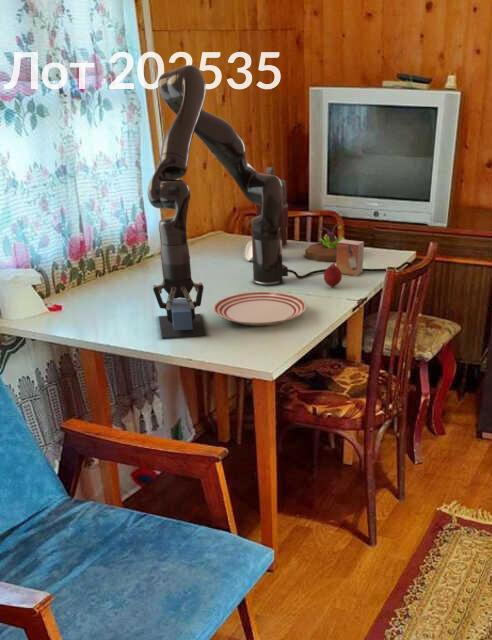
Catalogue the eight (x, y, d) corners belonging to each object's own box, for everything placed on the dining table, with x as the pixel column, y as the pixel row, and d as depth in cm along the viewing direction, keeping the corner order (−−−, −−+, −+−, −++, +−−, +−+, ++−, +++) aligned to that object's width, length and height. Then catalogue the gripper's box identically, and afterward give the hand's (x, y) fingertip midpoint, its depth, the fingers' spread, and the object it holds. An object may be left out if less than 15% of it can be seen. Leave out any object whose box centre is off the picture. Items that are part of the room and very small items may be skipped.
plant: (349, 264, 268) (350, 232, 261) (299, 259, 273) (299, 227, 266) (365, 251, 283) (366, 221, 277) (317, 246, 288) (318, 216, 282)
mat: (200, 315, 218) (200, 313, 218) (206, 336, 203) (206, 334, 203) (158, 317, 215) (158, 316, 215) (162, 338, 201) (161, 337, 201)
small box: (335, 273, 258) (336, 242, 252) (341, 269, 262) (342, 238, 256) (357, 276, 255) (358, 244, 249) (362, 272, 260) (364, 241, 254)
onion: (339, 290, 241) (339, 265, 236) (322, 289, 242) (322, 264, 237) (342, 285, 245) (343, 261, 241) (325, 284, 246) (326, 259, 242)
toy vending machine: (283, 249, 283) (282, 170, 268) (257, 246, 286) (254, 168, 271) (292, 244, 291) (291, 166, 275) (266, 241, 294) (264, 164, 278)
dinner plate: (270, 338, 202) (270, 326, 201) (194, 319, 214) (193, 308, 212) (324, 312, 222) (324, 301, 220) (251, 296, 234) (251, 285, 232)
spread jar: (285, 259, 272) (284, 226, 266) (266, 265, 264) (265, 231, 258) (259, 254, 277) (258, 221, 271) (240, 260, 269) (238, 227, 263)
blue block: (172, 312, 198) (169, 299, 208) (174, 330, 201) (171, 316, 211) (191, 311, 200) (187, 298, 209) (192, 329, 202) (189, 315, 212)
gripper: (201, 255, 203) (206, 315, 212) (147, 257, 200) (155, 318, 209) (203, 262, 197) (208, 324, 206) (148, 264, 194) (156, 327, 203)
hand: (181, 321), depth 208 cm, fingers closed on blue block, 5 cm apart
